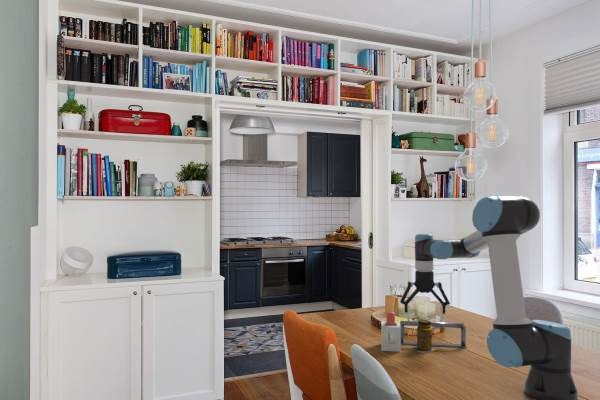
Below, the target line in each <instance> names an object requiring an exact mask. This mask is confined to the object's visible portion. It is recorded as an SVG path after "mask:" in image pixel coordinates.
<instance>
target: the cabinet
mask: <svg viewBox="0 0 600 400" xmlns="http://www.w3.org/2000/svg"><path fill="white" fill-rule="evenodd" d="M380 327H381V331H380V332H381V333H380V334H381V335H380V336H381V340H380V341H381V343H380V344H381V345H380V351H381V352H399V353H401V351H402V350H401V349H402V347H401V326H400V321H395V326H386V320H381V324H380Z"/></svg>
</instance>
